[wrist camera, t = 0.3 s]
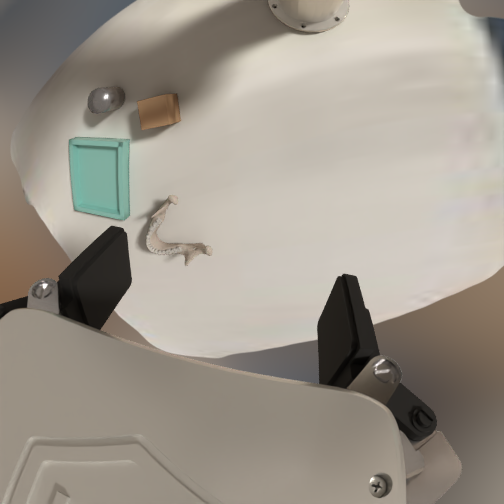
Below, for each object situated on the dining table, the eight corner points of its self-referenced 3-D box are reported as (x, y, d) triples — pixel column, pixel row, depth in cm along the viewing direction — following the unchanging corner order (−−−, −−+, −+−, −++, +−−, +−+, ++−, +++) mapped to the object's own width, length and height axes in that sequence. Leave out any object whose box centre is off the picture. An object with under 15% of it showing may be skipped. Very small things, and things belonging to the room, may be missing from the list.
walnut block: (151, 99, 40) (137, 101, 36) (177, 93, 39) (164, 94, 35) (155, 125, 43) (141, 130, 39) (181, 120, 42) (169, 124, 38)
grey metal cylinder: (106, 87, 39) (88, 89, 34) (125, 86, 39) (108, 87, 34) (104, 109, 41) (87, 113, 37) (123, 109, 41) (106, 113, 37)
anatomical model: (133, 217, 52) (122, 230, 43) (176, 186, 52) (173, 192, 43) (169, 265, 57) (166, 286, 48) (211, 237, 57) (215, 254, 48)
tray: (76, 137, 45) (68, 139, 43) (129, 139, 44) (122, 142, 42) (80, 205, 53) (74, 210, 51) (129, 215, 53) (124, 220, 51)
